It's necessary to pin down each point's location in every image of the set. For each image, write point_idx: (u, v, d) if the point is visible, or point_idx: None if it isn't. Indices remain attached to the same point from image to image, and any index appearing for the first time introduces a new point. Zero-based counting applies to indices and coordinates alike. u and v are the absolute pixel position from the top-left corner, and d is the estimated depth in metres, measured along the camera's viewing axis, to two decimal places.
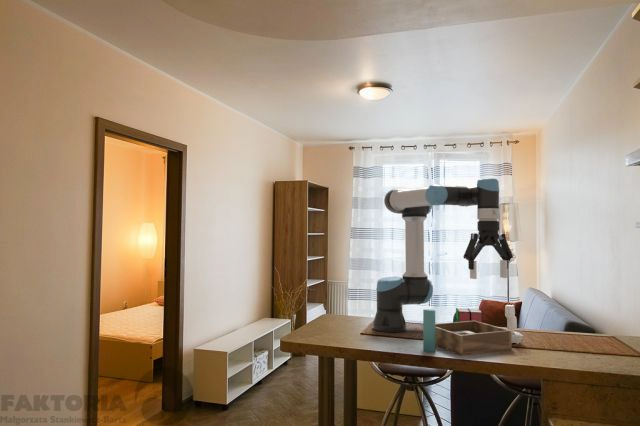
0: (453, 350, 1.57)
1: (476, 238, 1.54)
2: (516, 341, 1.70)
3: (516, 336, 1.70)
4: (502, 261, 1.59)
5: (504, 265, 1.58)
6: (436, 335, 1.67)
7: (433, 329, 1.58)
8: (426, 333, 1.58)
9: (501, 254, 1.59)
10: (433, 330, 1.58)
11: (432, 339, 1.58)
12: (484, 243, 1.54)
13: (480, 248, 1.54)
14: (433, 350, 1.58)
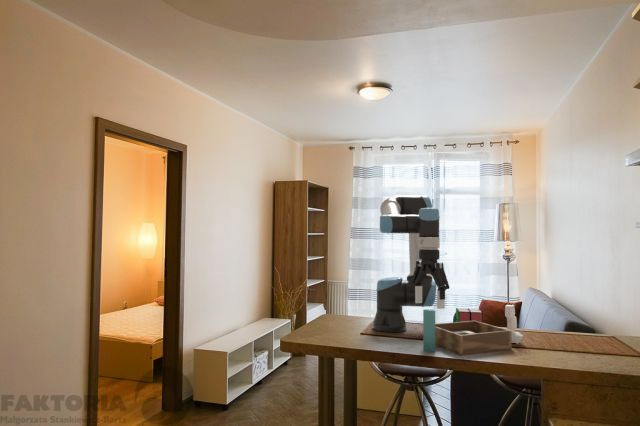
0: (453, 350, 1.57)
1: (416, 265, 1.66)
2: (516, 341, 1.70)
3: (516, 336, 1.70)
4: None
5: None
6: (436, 335, 1.67)
7: (433, 329, 1.58)
8: (426, 333, 1.58)
9: None
10: (433, 330, 1.58)
11: (432, 339, 1.58)
12: (420, 270, 1.63)
13: (419, 275, 1.64)
14: (433, 350, 1.58)
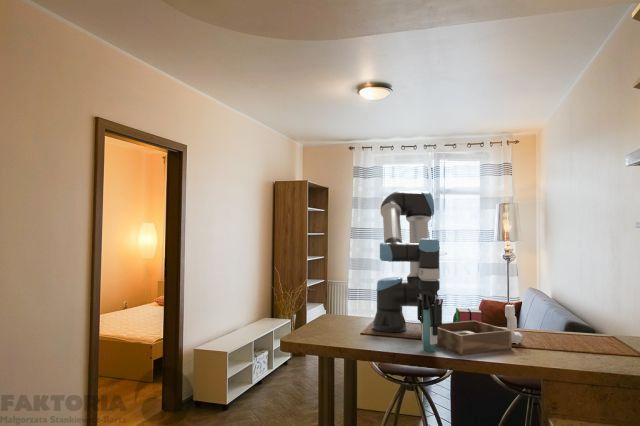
0: (453, 350, 1.57)
1: (418, 299, 1.65)
2: (516, 341, 1.70)
3: (516, 336, 1.70)
4: None
5: None
6: None
7: None
8: (426, 333, 1.58)
9: None
10: None
11: None
12: (422, 303, 1.62)
13: (422, 309, 1.62)
14: (433, 350, 1.58)
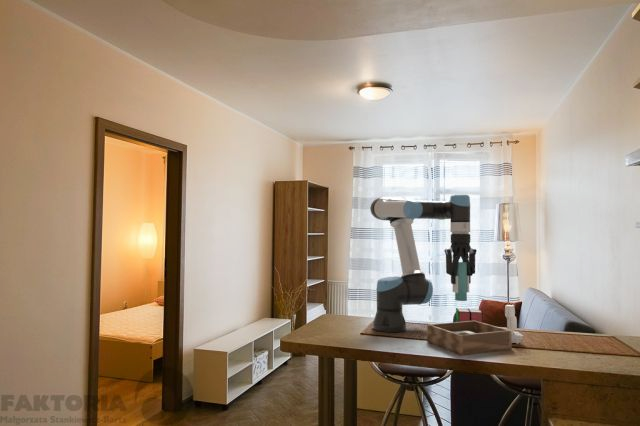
0: (453, 350, 1.57)
1: (450, 253, 1.67)
2: (516, 341, 1.70)
3: (516, 336, 1.70)
4: None
5: None
6: (436, 335, 1.67)
7: None
8: (465, 283, 1.68)
9: None
10: None
11: None
12: (458, 256, 1.68)
13: (457, 262, 1.68)
14: None
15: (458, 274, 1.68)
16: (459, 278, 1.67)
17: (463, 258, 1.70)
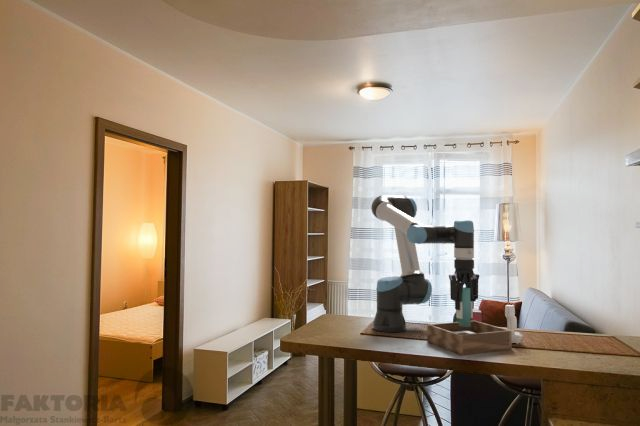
0: (453, 350, 1.57)
1: (455, 279, 1.67)
2: (516, 341, 1.70)
3: (516, 336, 1.70)
4: None
5: (470, 306, 1.70)
6: (436, 335, 1.67)
7: None
8: (469, 309, 1.68)
9: None
10: None
11: None
12: (463, 282, 1.68)
13: (461, 287, 1.68)
14: None
15: (462, 300, 1.68)
16: (463, 304, 1.68)
17: (466, 283, 1.71)
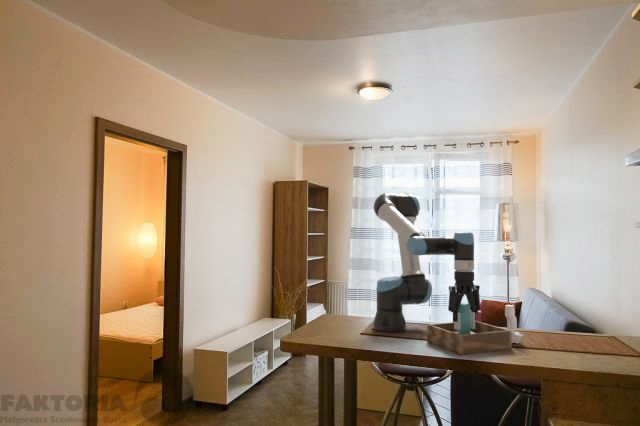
0: (453, 350, 1.57)
1: (454, 291, 1.67)
2: (516, 341, 1.70)
3: (516, 336, 1.70)
4: (470, 313, 1.71)
5: (472, 317, 1.70)
6: (436, 335, 1.67)
7: None
8: (469, 325, 1.68)
9: (471, 305, 1.71)
10: None
11: None
12: (462, 294, 1.68)
13: (460, 299, 1.68)
14: None
15: (462, 317, 1.68)
16: (463, 321, 1.68)
17: (467, 295, 1.71)
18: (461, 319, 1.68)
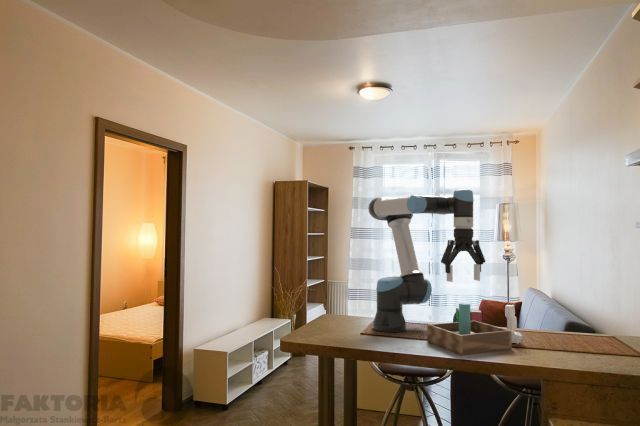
0: (453, 350, 1.57)
1: (452, 244, 1.68)
2: (516, 341, 1.70)
3: (516, 336, 1.70)
4: (476, 265, 1.74)
5: (477, 269, 1.73)
6: (436, 335, 1.67)
7: None
8: (469, 325, 1.68)
9: (475, 259, 1.74)
10: None
11: None
12: (459, 249, 1.69)
13: (456, 253, 1.69)
14: None
15: (462, 317, 1.68)
16: (463, 321, 1.68)
17: (469, 251, 1.73)
18: (461, 319, 1.68)
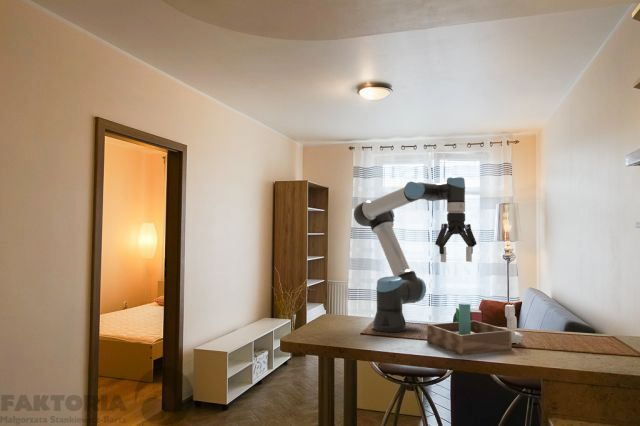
0: (453, 350, 1.57)
1: (446, 227, 1.81)
2: (516, 341, 1.70)
3: (516, 336, 1.70)
4: (467, 247, 1.87)
5: (469, 251, 1.86)
6: (436, 335, 1.67)
7: None
8: (469, 325, 1.68)
9: (467, 241, 1.87)
10: None
11: None
12: (452, 232, 1.82)
13: (449, 236, 1.82)
14: None
15: (462, 317, 1.68)
16: (463, 321, 1.68)
17: (461, 234, 1.86)
18: (461, 319, 1.68)
